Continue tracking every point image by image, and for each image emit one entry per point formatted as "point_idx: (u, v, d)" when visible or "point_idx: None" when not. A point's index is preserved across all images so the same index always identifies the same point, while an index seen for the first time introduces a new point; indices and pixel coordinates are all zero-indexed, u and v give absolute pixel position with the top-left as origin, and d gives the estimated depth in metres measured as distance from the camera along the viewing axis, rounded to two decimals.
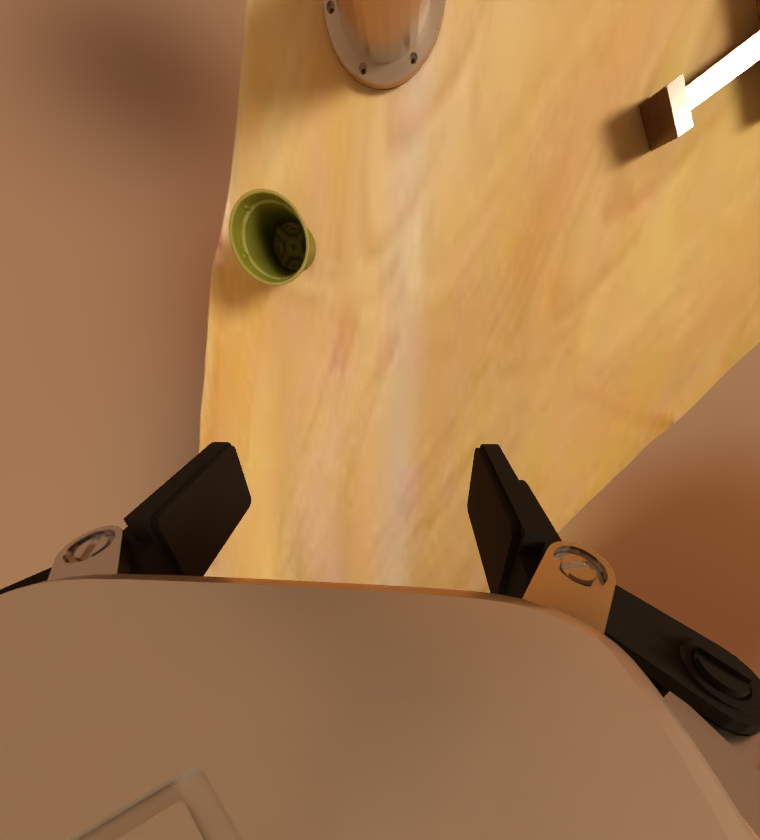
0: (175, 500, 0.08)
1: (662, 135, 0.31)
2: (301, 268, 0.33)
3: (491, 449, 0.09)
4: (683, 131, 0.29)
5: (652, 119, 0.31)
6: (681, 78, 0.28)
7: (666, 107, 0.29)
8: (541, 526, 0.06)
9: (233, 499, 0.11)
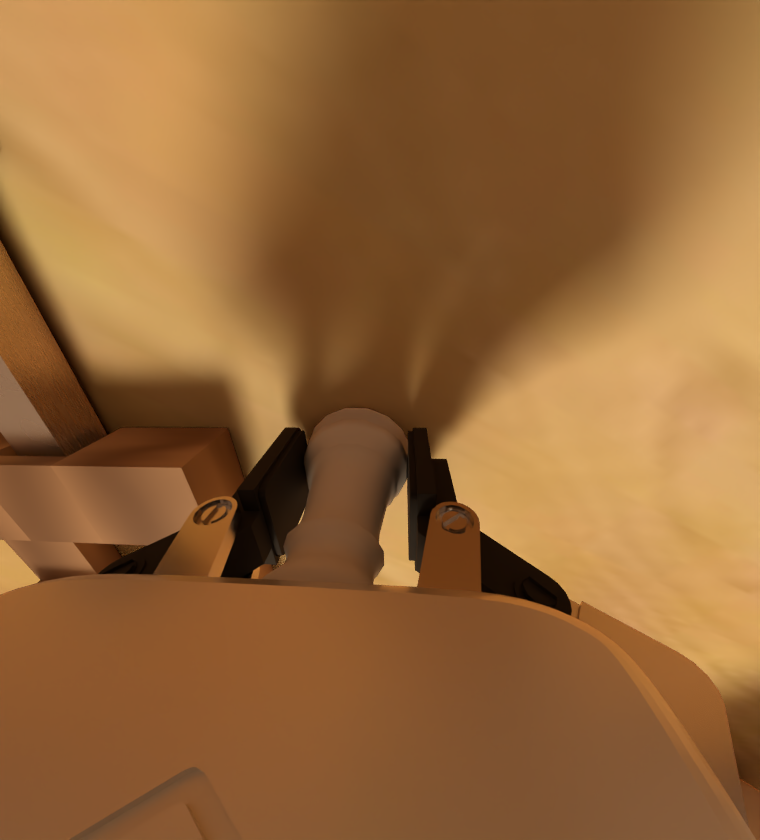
0: (273, 475, 0.09)
1: None
2: None
3: (418, 432, 0.11)
4: None
5: None
6: None
7: None
8: (432, 490, 0.08)
9: (304, 480, 0.11)
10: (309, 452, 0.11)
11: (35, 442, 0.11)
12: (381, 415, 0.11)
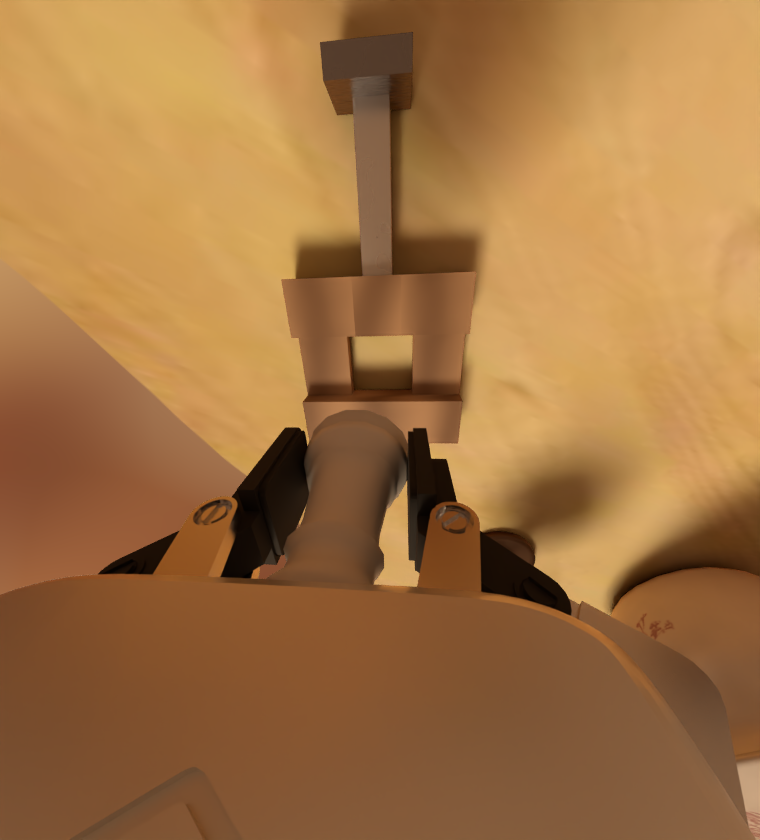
0: (273, 475, 0.09)
1: None
2: None
3: (418, 431, 0.11)
4: (324, 57, 0.15)
5: None
6: (406, 68, 0.15)
7: None
8: (432, 490, 0.08)
9: (304, 480, 0.11)
10: (309, 453, 0.11)
11: (379, 269, 0.21)
12: (381, 417, 0.11)
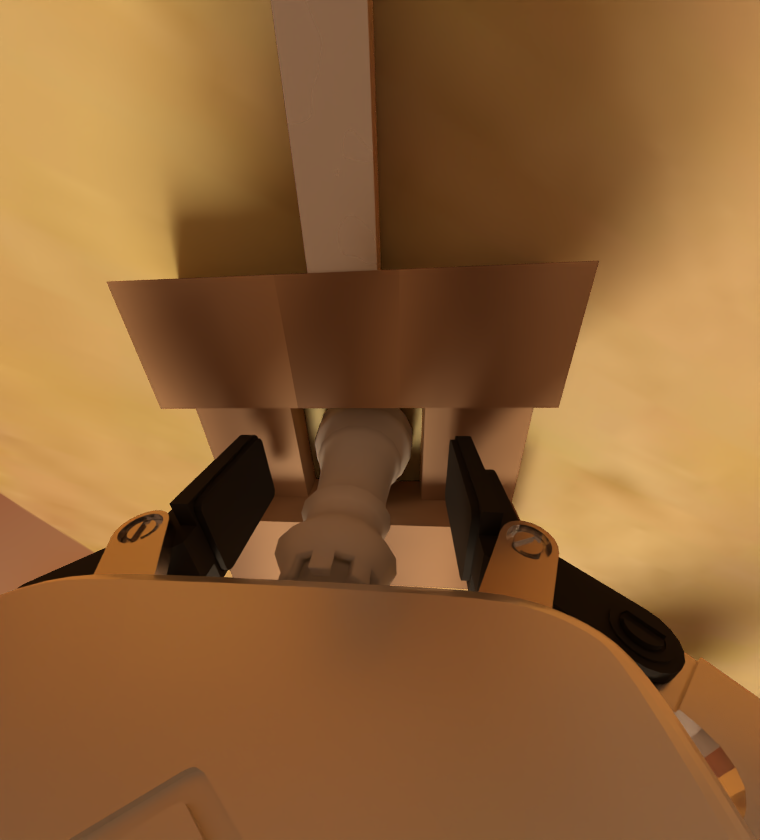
0: (214, 487, 0.08)
1: None
2: None
3: (463, 440, 0.10)
4: None
5: None
6: None
7: None
8: (498, 508, 0.07)
9: (260, 489, 0.11)
10: (320, 434, 0.12)
11: (346, 258, 0.09)
12: None
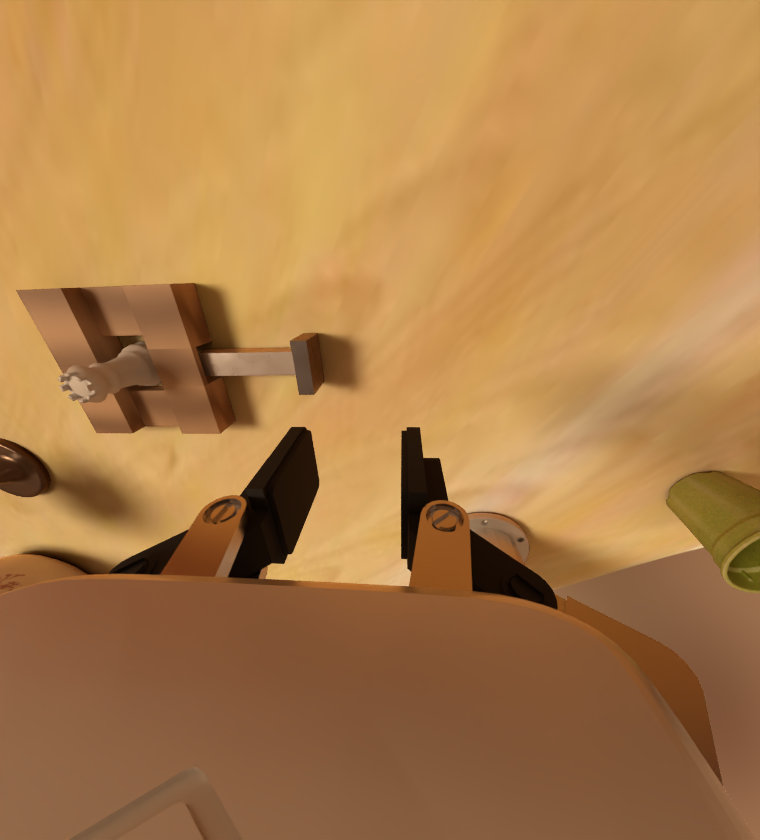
0: (281, 474, 0.09)
1: (313, 347, 0.25)
2: None
3: (412, 431, 0.11)
4: (300, 342, 0.23)
5: (318, 365, 0.27)
6: (300, 391, 0.25)
7: (313, 374, 0.25)
8: (423, 488, 0.08)
9: (310, 479, 0.11)
10: (141, 350, 0.27)
11: (209, 366, 0.27)
12: None
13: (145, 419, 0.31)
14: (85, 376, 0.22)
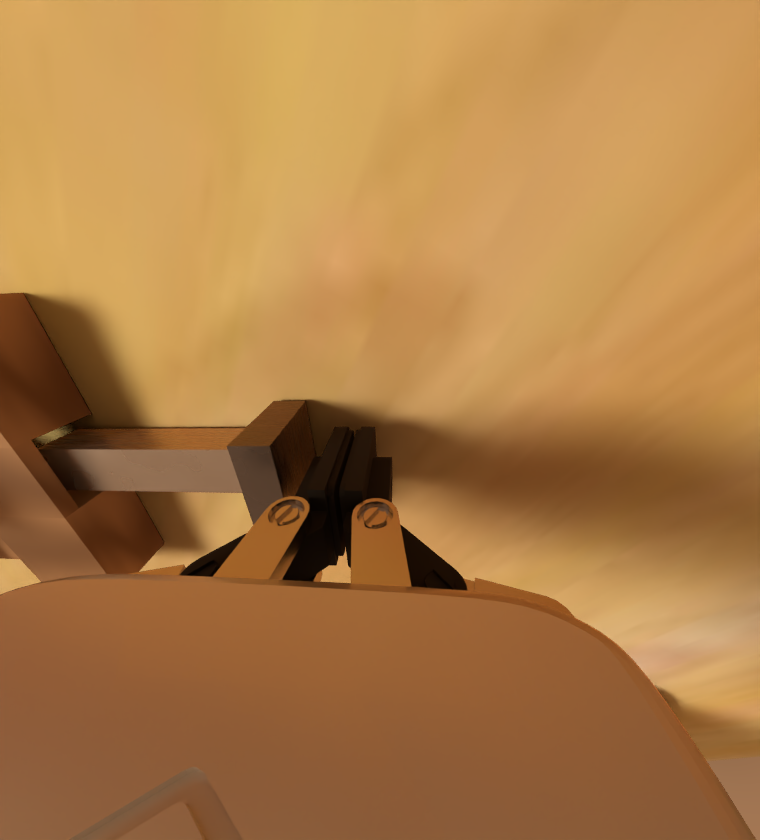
0: (337, 475, 0.09)
1: (294, 442, 0.11)
2: None
3: (365, 430, 0.11)
4: (254, 450, 0.09)
5: None
6: None
7: None
8: (359, 487, 0.08)
9: None
10: None
11: (69, 473, 0.12)
12: None
13: None
14: None
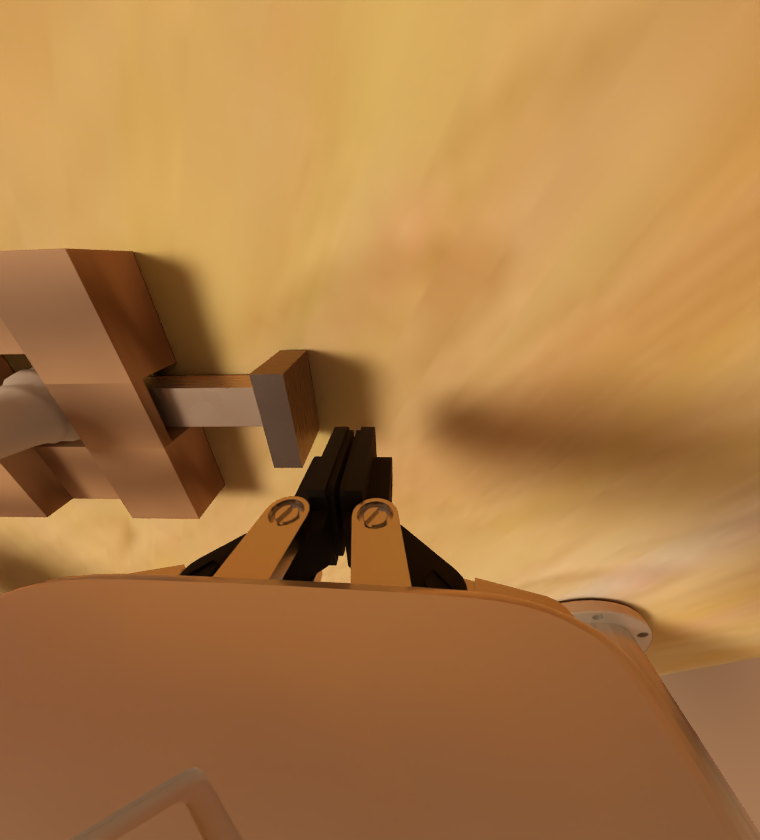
0: (337, 475, 0.09)
1: (299, 379, 0.13)
2: None
3: (365, 430, 0.11)
4: (270, 378, 0.11)
5: (309, 408, 0.15)
6: (275, 462, 0.14)
7: (299, 432, 0.13)
8: (359, 487, 0.08)
9: None
10: (41, 381, 0.14)
11: None
12: None
13: (71, 489, 0.18)
14: None
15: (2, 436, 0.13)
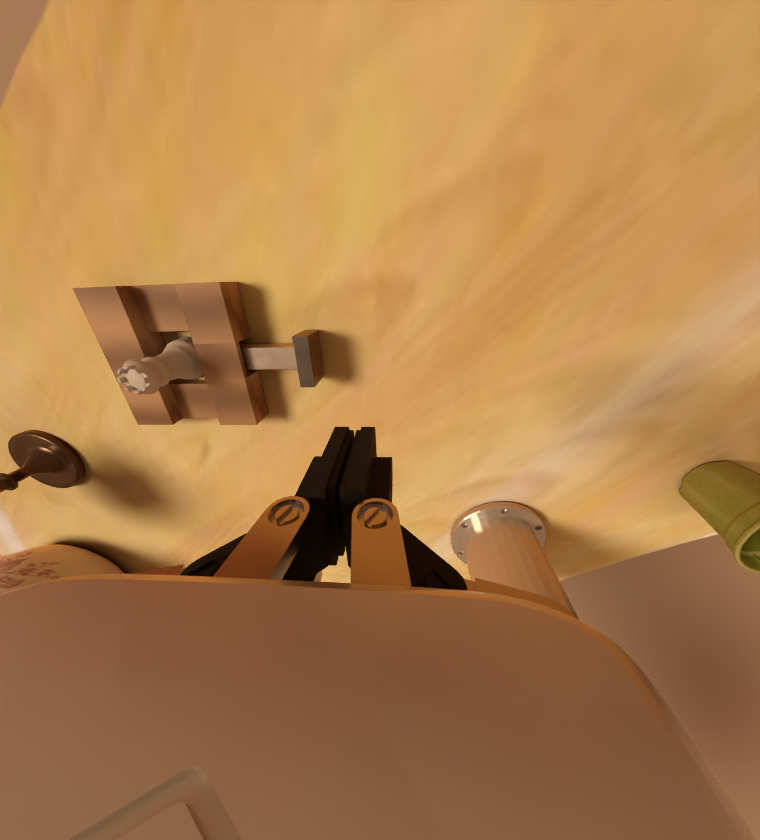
0: (337, 475, 0.09)
1: (314, 342, 0.27)
2: None
3: (365, 430, 0.11)
4: (301, 338, 0.25)
5: (318, 360, 0.28)
6: (301, 384, 0.27)
7: (313, 368, 0.27)
8: (359, 487, 0.08)
9: None
10: (186, 345, 0.28)
11: None
12: None
13: (183, 411, 0.32)
14: (142, 369, 0.24)
15: (174, 368, 0.27)
